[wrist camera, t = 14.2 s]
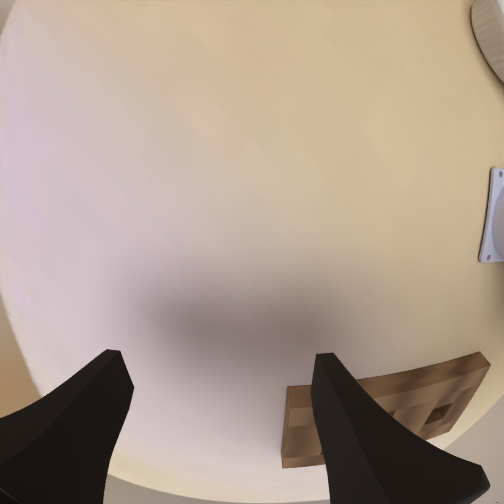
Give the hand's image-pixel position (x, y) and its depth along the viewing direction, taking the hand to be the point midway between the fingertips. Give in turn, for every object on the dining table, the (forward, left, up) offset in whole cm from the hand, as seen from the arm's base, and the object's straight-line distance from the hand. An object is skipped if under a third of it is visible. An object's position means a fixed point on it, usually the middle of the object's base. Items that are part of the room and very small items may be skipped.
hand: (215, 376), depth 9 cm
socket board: (-15, +17, -9) cm, 25 cm away
